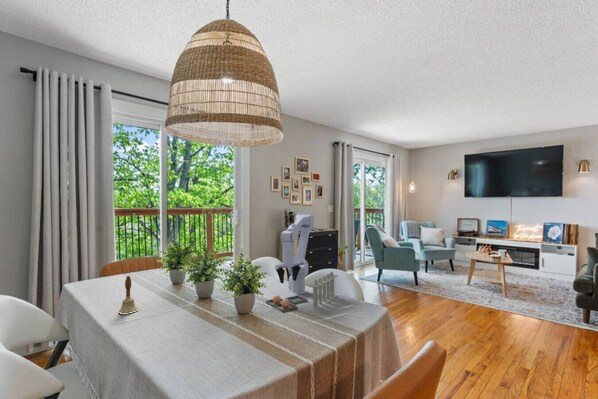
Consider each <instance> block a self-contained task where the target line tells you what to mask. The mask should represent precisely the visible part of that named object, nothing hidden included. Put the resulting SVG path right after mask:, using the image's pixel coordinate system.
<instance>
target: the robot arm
mask: <svg viewBox="0 0 598 399" xmlns="http://www.w3.org/2000/svg"><path fill="white" fill-rule="evenodd" d="M314 223H315V219H314V215H313V214H296V215H295V217H294V223H290V225H289V226H288V227H287V229H286V230H284V231H282V232H281V234H280V242H281V246H282V262H281V263H278V264H275V265H274V269H275V271H276V274H277V275H278V278H279V283H281V284H284V283H285V271H286V270H285V269H286V268H287V269H288V274H289V275H290V276H289V278H288V289H287V292H289V293H292V294H295V296H297V295H301V294H306V293H307V294H308V293H309V291H308V290H306V277H307V275H309V263H308V261H307V259H305V258H306V254H307V253H306V252H307V248H308V242H309V236H310V232H311V231H313V229H314ZM299 232H300V235H299V240H298V246H297V251H296V256H295V243H296V239H297V235H298V234H299Z"/></svg>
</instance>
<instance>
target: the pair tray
mask: <svg viewBox="0 0 598 399" xmlns="http://www.w3.org/2000/svg"><path fill="white" fill-rule="evenodd" d="M283 300H284V298H281V301H280V303H278V304H275V303H274V302H273V298H272V299H268V300H265V303H266V304H267V305H268V306H271V307H272V308H274V309H276V310H278V311H280V312H282V313H285V312H286V313H288V312H290V311H294V310H298V308H299V307H298V306H297V304H292V303H290V306H289V307H288V308H283V307H282V305H281V302H282V301H283Z"/></svg>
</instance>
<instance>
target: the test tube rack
mask: <svg viewBox="0 0 598 399" xmlns="http://www.w3.org/2000/svg"><path fill="white" fill-rule="evenodd" d="M338 277H339V275H335V274H334V272H333V271H330V273H326V275H322V277H318V279H314V282H313V283H310V284H309V285H308V287H309V288H312V305H310V306H309V307H308V309H311V310H316V311H317V310H319V309H321V308H322V307H323V306H324V305H326V304H327V303H329V302H331V301H332V300H334V299H335V298H338V297H339V294H335V279H336V278H338Z"/></svg>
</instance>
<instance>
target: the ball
mask: <svg viewBox="0 0 598 399" xmlns="http://www.w3.org/2000/svg"><path fill="white" fill-rule="evenodd" d="M281 305H282V307H283V308H288V307H289V306H290V302H289V300H287V299H285V298H283V301H282V302H281Z"/></svg>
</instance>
